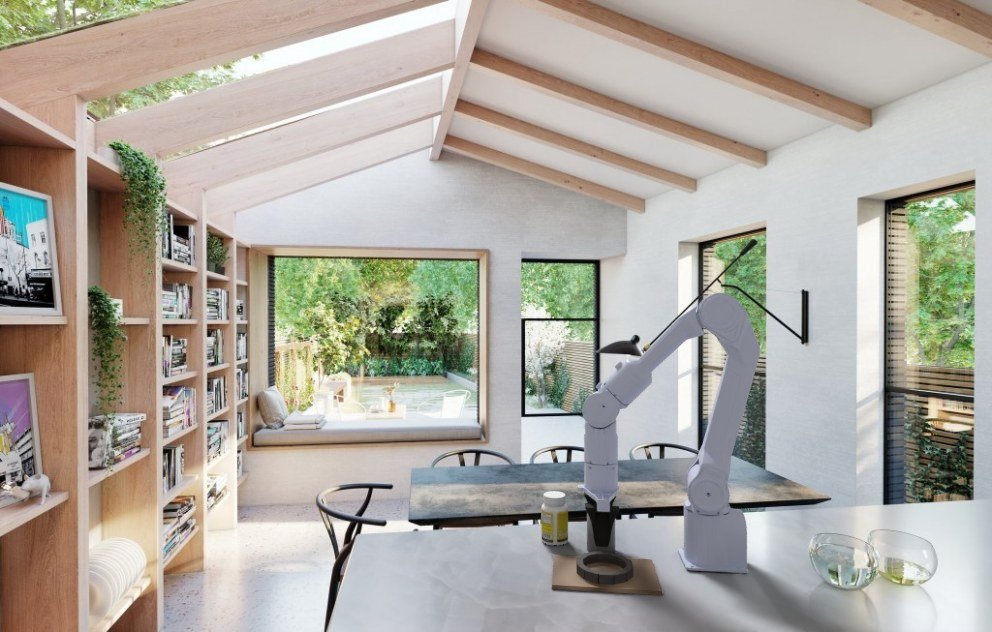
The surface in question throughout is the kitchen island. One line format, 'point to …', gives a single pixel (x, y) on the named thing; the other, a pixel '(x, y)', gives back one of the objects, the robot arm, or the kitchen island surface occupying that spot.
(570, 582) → the ring board
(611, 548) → the cap
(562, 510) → the supplement bottle
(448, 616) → the kitchen island surface
